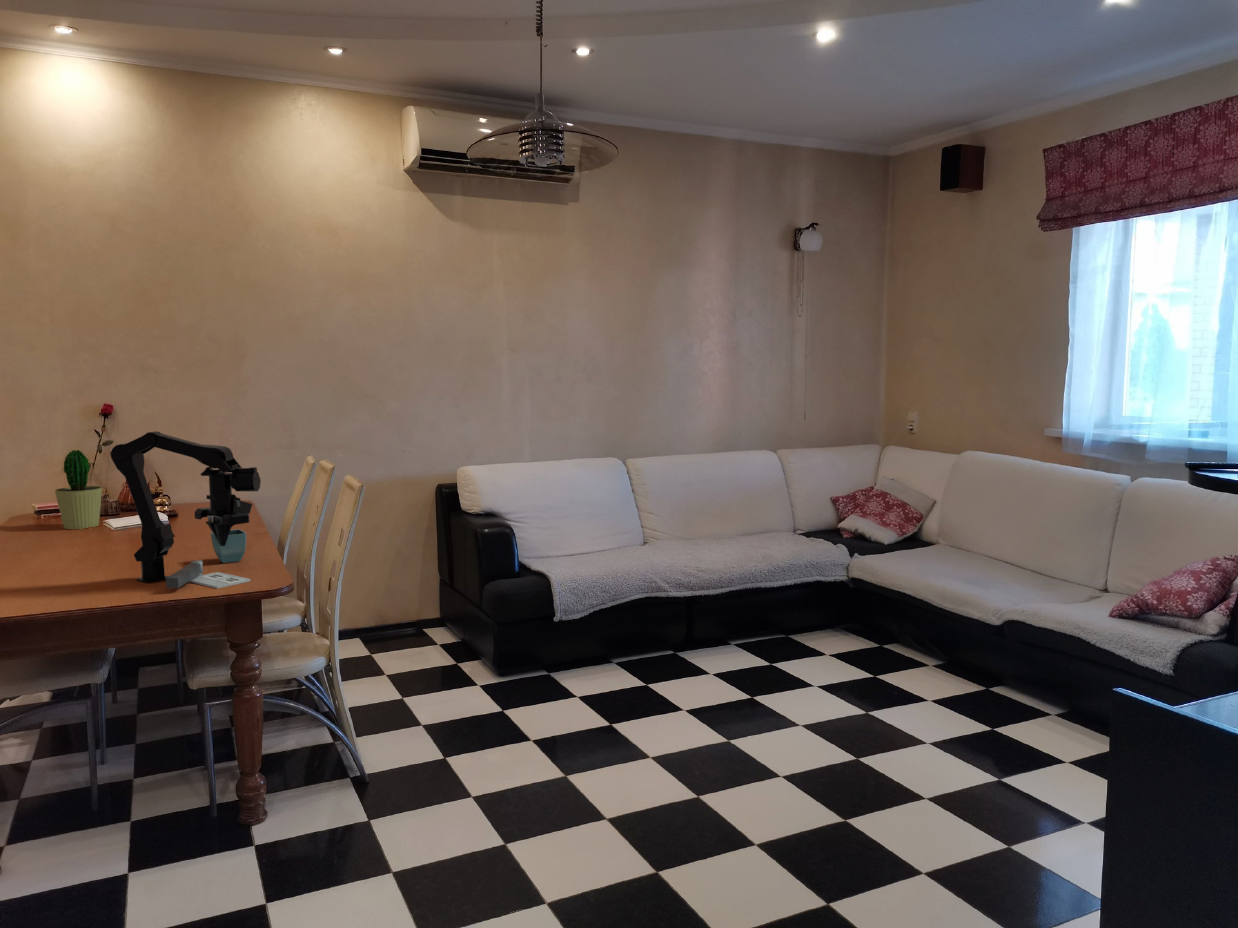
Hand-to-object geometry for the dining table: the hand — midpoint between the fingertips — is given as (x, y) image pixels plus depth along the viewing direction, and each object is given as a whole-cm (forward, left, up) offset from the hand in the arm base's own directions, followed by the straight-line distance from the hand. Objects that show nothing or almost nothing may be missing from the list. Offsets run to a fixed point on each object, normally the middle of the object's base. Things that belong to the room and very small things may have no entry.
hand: (222, 545), depth 251 cm
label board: (-1, -3, -9) cm, 10 cm away
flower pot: (-20, +14, -10) cm, 26 cm away
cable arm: (-3, -9, -8) cm, 13 cm away
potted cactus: (-123, +18, -10) cm, 125 cm away
